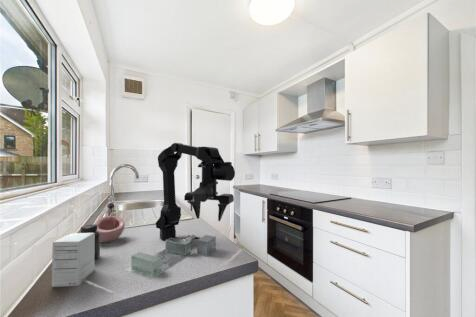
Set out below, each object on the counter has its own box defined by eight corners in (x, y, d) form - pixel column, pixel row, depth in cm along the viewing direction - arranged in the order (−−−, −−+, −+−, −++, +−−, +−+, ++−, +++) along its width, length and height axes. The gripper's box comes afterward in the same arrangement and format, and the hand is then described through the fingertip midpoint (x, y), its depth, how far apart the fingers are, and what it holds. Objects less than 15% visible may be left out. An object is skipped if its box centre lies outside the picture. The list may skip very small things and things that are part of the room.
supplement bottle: (104, 256, 74) (105, 224, 74) (85, 265, 67) (85, 229, 68) (91, 254, 76) (92, 222, 76) (71, 262, 70) (72, 227, 70)
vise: (124, 272, 63) (124, 257, 63) (171, 248, 81) (171, 236, 81) (151, 281, 58) (151, 265, 58) (194, 254, 76) (194, 241, 76)
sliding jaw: (164, 250, 77) (164, 240, 77) (185, 240, 87) (185, 230, 88) (185, 255, 73) (185, 244, 73) (204, 244, 83) (204, 234, 83)
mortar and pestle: (94, 249, 81) (94, 220, 81) (91, 240, 90) (91, 215, 90) (127, 241, 89) (127, 215, 89) (121, 234, 98) (121, 210, 98)
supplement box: (70, 273, 63) (71, 232, 63) (95, 272, 63) (95, 232, 64) (50, 287, 55) (51, 241, 56) (78, 286, 56) (79, 240, 56)
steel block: (196, 256, 74) (196, 240, 74) (206, 250, 80) (206, 234, 80) (206, 258, 72) (207, 242, 73) (215, 252, 78) (215, 236, 78)
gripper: (176, 179, 73) (175, 222, 72) (223, 182, 67) (222, 229, 66) (192, 177, 83) (191, 215, 83) (234, 179, 77) (233, 220, 77)
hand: (208, 219), depth 77 cm, fingers open, 9 cm apart
